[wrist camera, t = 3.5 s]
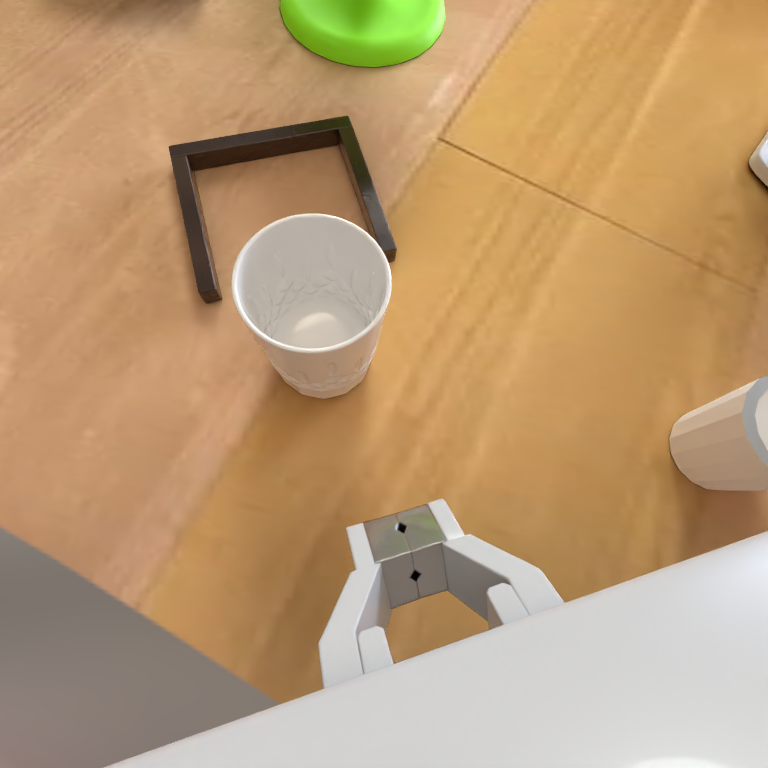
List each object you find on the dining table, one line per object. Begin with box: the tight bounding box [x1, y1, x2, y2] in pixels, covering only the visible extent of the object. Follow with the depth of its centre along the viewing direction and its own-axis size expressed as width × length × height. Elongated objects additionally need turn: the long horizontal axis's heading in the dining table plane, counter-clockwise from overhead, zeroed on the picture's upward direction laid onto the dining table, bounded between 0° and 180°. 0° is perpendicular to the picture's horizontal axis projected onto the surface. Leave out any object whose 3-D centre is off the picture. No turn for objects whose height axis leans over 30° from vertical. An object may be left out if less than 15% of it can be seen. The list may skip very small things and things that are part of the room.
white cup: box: [231, 214, 392, 399], centre depth 27 cm, size 8×8×10 cm
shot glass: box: [669, 376, 768, 491], centre depth 28 cm, size 7×7×7 cm
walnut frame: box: [169, 116, 397, 303], centre depth 34 cm, size 13×14×2 cm
